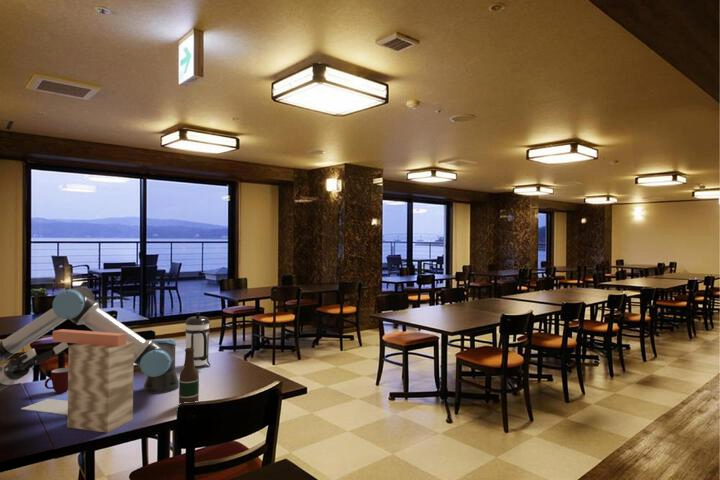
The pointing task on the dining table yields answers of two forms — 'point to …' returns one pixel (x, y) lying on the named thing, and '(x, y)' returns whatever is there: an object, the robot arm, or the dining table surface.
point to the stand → (100, 386)
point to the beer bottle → (189, 379)
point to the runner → (49, 406)
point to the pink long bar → (89, 337)
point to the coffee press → (198, 338)
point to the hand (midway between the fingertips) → (51, 347)
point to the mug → (59, 380)
